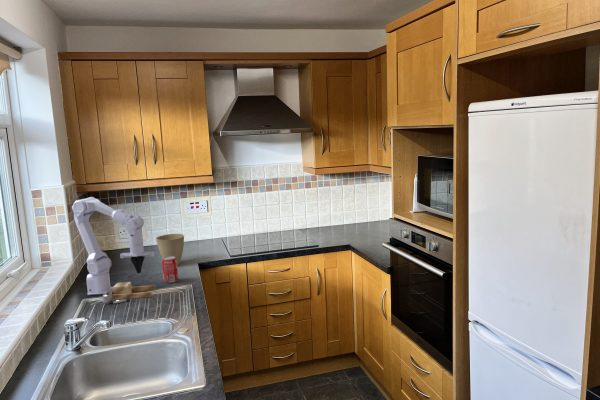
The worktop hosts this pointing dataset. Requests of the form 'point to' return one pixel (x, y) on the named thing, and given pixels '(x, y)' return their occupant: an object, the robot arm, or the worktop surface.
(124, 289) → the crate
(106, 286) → the robot arm
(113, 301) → the crank handle
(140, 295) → the bay
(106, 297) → the winch drum
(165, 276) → the soda can
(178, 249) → the plant pot
